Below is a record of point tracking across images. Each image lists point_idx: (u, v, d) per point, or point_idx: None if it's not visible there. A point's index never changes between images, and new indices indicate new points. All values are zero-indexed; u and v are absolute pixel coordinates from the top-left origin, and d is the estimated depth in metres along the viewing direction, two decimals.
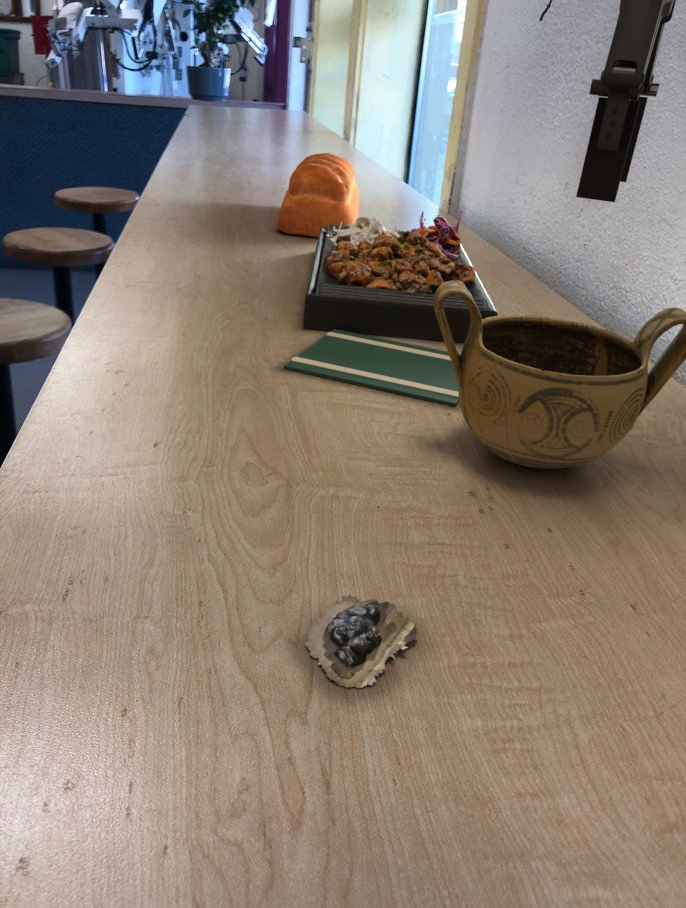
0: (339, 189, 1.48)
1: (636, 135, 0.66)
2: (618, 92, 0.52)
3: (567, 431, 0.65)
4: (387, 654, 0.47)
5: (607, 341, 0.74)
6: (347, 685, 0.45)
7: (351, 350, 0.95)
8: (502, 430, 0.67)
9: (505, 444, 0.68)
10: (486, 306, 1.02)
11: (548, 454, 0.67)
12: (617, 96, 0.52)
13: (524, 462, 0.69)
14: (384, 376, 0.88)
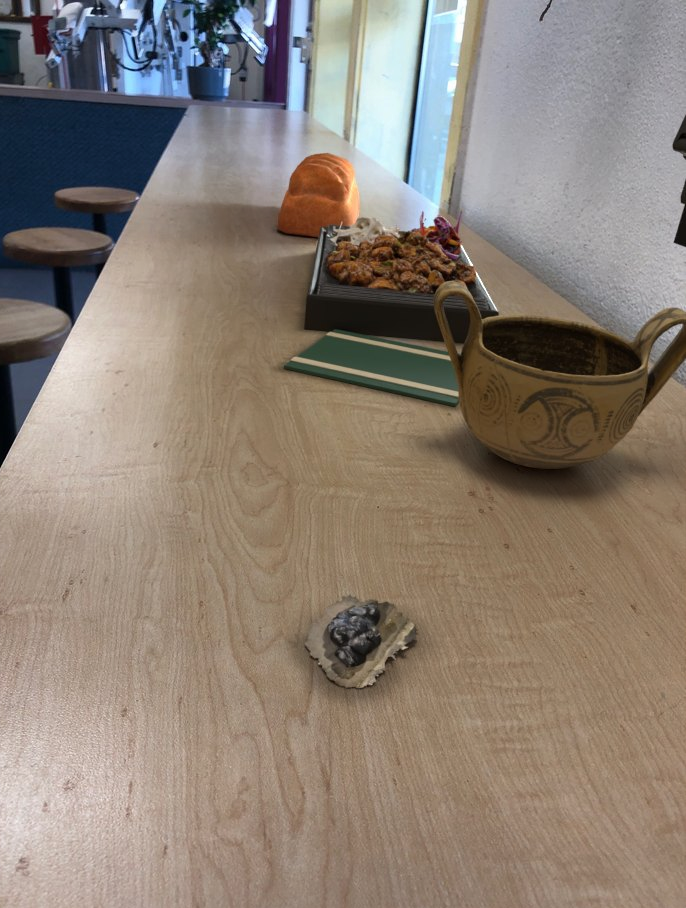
0: (339, 189, 1.48)
1: None
2: None
3: (567, 431, 0.65)
4: (387, 654, 0.47)
5: (607, 341, 0.74)
6: (347, 685, 0.45)
7: (351, 350, 0.95)
8: (502, 430, 0.67)
9: (505, 444, 0.68)
10: (487, 306, 1.02)
11: (548, 454, 0.67)
12: None
13: (524, 462, 0.69)
14: (384, 376, 0.88)
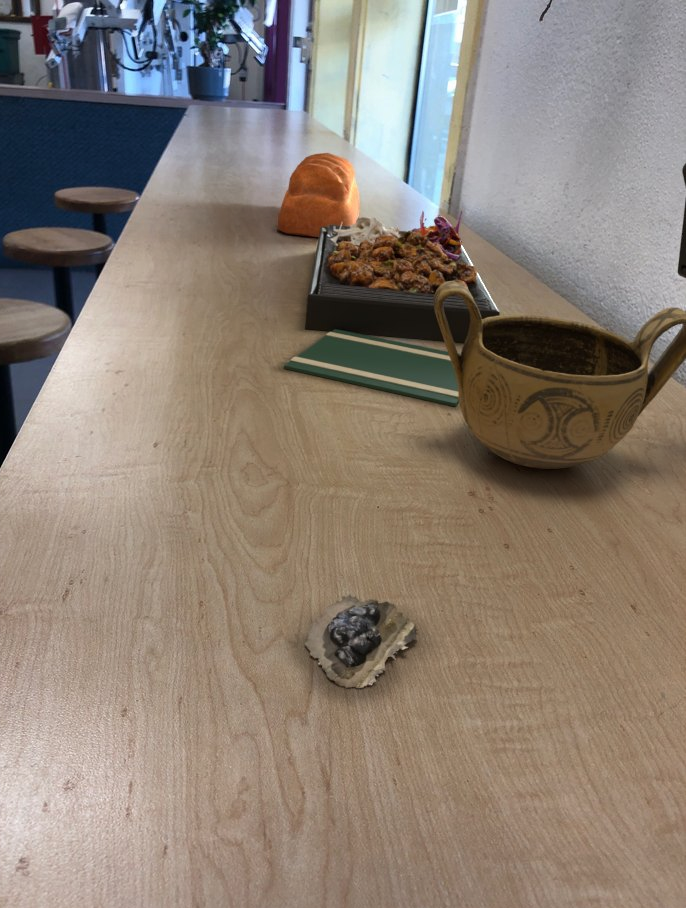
0: (339, 189, 1.48)
1: None
2: None
3: (567, 431, 0.65)
4: (387, 654, 0.47)
5: (607, 341, 0.74)
6: (347, 685, 0.45)
7: (351, 350, 0.95)
8: (502, 430, 0.67)
9: (505, 444, 0.68)
10: (488, 306, 1.02)
11: (548, 454, 0.67)
12: None
13: (524, 462, 0.69)
14: (384, 376, 0.88)
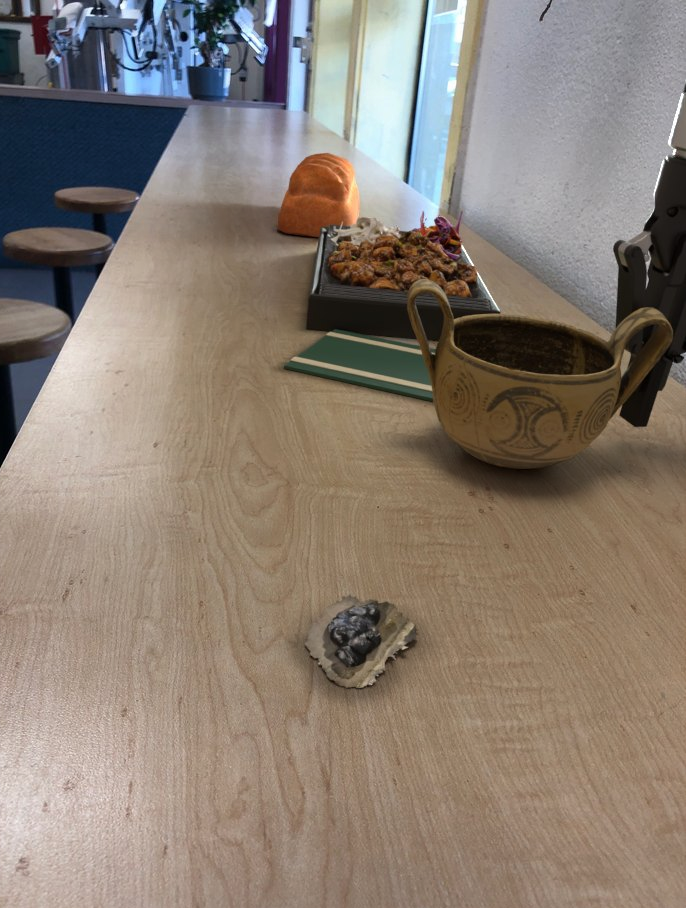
0: (339, 189, 1.48)
1: (650, 390, 0.73)
2: None
3: (536, 430, 0.64)
4: (387, 654, 0.47)
5: (584, 341, 0.73)
6: (347, 685, 0.45)
7: (351, 350, 0.95)
8: (472, 429, 0.67)
9: (475, 443, 0.67)
10: (489, 306, 1.02)
11: (517, 454, 0.66)
12: (633, 354, 0.72)
13: (495, 461, 0.69)
14: (384, 376, 0.88)
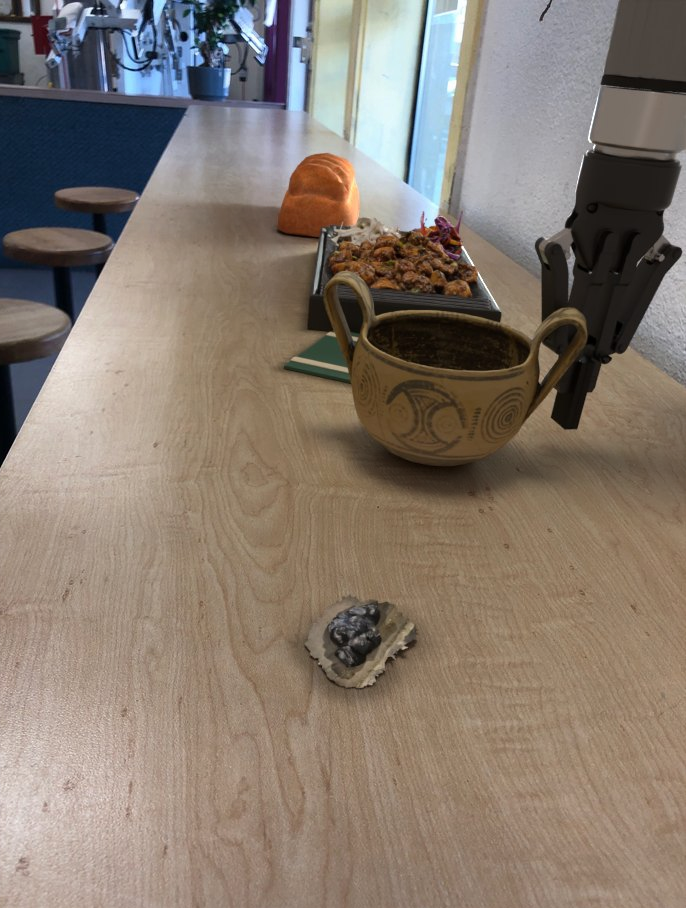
0: (339, 189, 1.48)
1: (579, 392, 0.71)
2: None
3: (433, 425, 0.64)
4: (387, 654, 0.47)
5: (517, 341, 0.72)
6: (347, 685, 0.45)
7: None
8: (376, 421, 0.66)
9: (381, 436, 0.67)
10: (490, 306, 1.02)
11: (419, 449, 0.66)
12: (560, 355, 0.70)
13: (404, 456, 0.68)
14: None
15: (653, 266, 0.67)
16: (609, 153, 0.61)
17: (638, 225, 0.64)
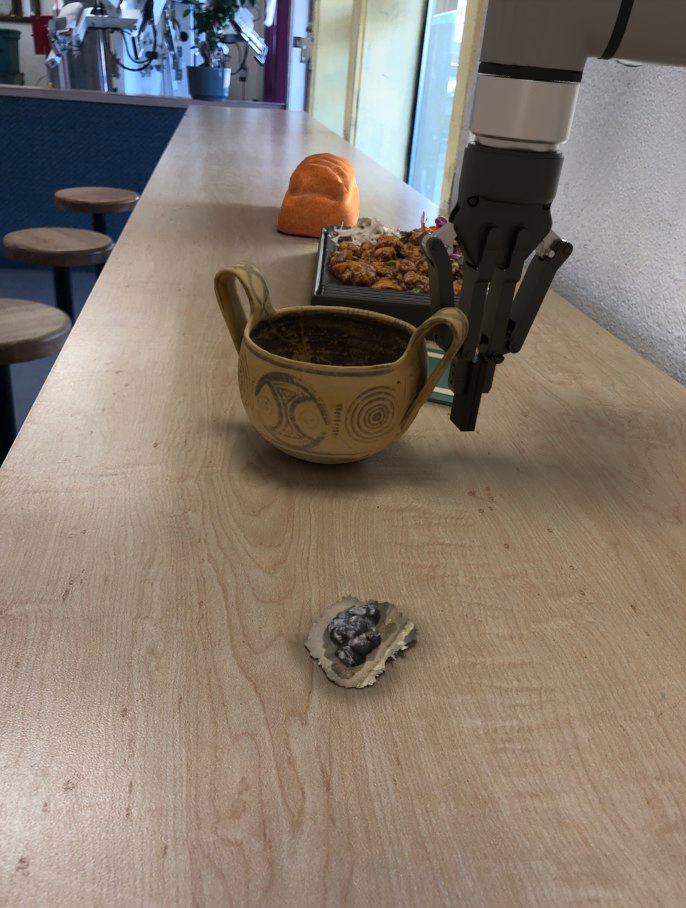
0: (339, 189, 1.48)
1: (473, 393, 0.69)
2: None
3: (296, 420, 0.63)
4: (387, 654, 0.47)
5: None
6: (347, 685, 0.45)
7: None
8: (251, 413, 0.66)
9: (258, 428, 0.67)
10: None
11: (289, 443, 0.65)
12: None
13: (282, 450, 0.68)
14: None
15: (544, 262, 0.65)
16: (486, 144, 0.58)
17: (524, 220, 0.62)
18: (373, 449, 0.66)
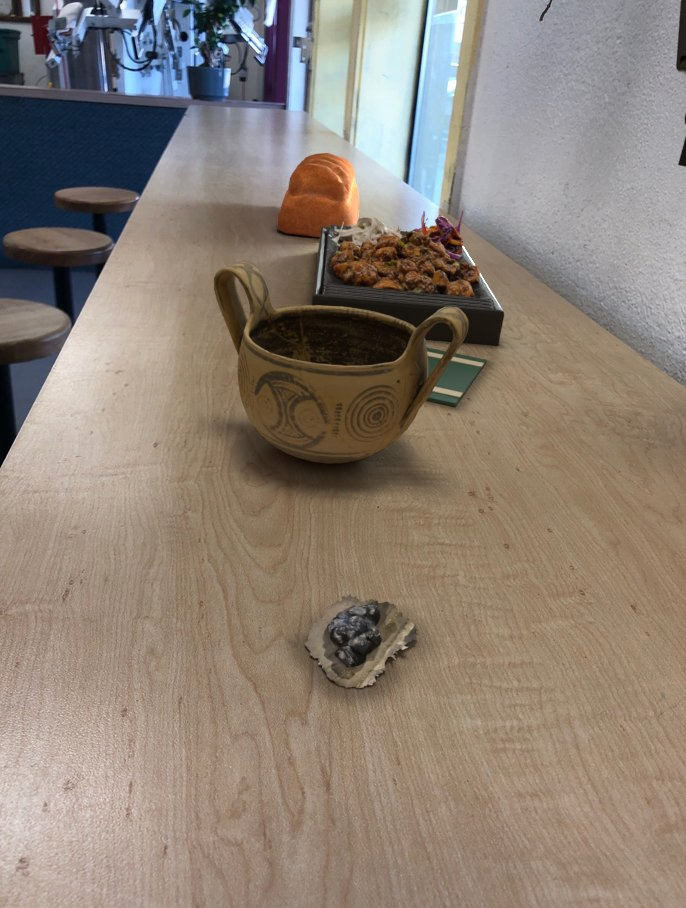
0: (339, 189, 1.48)
1: None
2: None
3: (296, 419, 0.63)
4: (387, 654, 0.47)
5: None
6: (347, 685, 0.45)
7: None
8: (250, 412, 0.66)
9: (258, 428, 0.67)
10: (492, 306, 1.02)
11: (289, 443, 0.65)
12: None
13: (282, 450, 0.68)
14: None
15: None
16: None
17: None
18: (373, 448, 0.66)
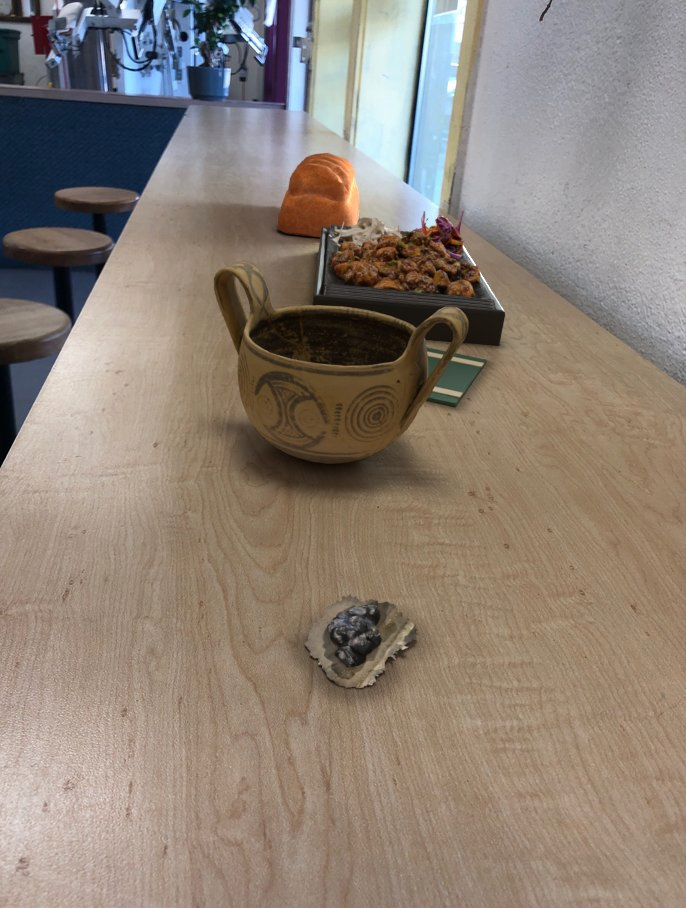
0: (339, 189, 1.48)
1: None
2: None
3: (296, 419, 0.63)
4: (387, 654, 0.47)
5: None
6: (347, 685, 0.45)
7: None
8: (250, 412, 0.66)
9: (258, 428, 0.67)
10: (493, 306, 1.02)
11: (289, 443, 0.65)
12: None
13: (282, 450, 0.68)
14: None
15: None
16: None
17: None
18: (373, 448, 0.66)
